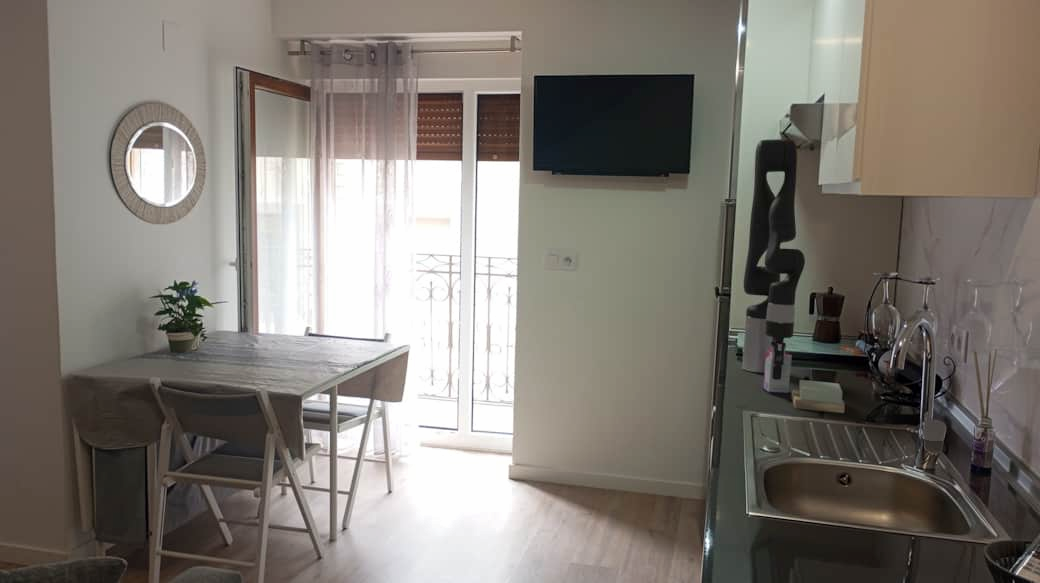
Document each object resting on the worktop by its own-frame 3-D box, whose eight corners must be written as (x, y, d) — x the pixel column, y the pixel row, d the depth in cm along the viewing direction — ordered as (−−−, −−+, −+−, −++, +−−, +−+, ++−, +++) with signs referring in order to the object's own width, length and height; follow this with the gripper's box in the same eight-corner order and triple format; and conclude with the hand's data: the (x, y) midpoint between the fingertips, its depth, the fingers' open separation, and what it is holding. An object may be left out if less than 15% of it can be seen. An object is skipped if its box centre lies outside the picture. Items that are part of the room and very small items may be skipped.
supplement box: (789, 394, 219) (792, 354, 217) (767, 393, 219) (771, 353, 217) (782, 389, 224) (785, 350, 223) (762, 388, 224) (764, 349, 223)
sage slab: (798, 390, 214) (799, 379, 213) (837, 394, 211) (838, 383, 211) (800, 399, 204) (801, 387, 204) (841, 403, 201) (842, 392, 201)
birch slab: (791, 399, 216) (792, 389, 215) (837, 403, 213) (838, 393, 212) (794, 410, 204) (795, 399, 204) (843, 415, 201) (844, 404, 201)
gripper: (765, 315, 227) (761, 370, 228) (767, 321, 213) (762, 380, 215) (792, 317, 225) (788, 372, 227) (796, 323, 211) (791, 382, 213)
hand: (775, 376), depth 221 cm, fingers open, 8 cm apart
